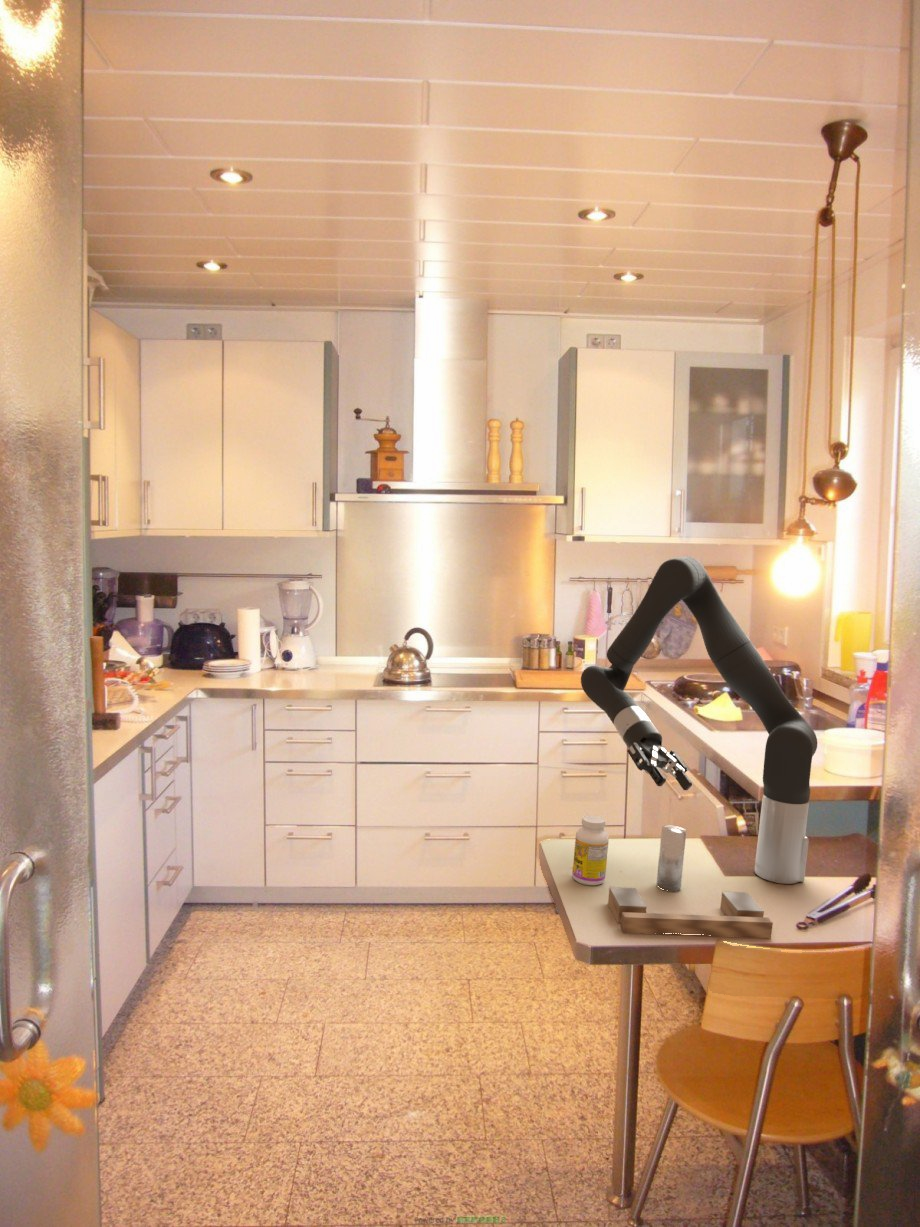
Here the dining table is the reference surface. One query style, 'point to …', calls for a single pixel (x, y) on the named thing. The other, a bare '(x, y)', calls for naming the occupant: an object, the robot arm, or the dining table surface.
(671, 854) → the link pin
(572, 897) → the dining table surface
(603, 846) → the supplement bottle
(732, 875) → the dining table surface
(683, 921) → the rail with metal-top blocks
